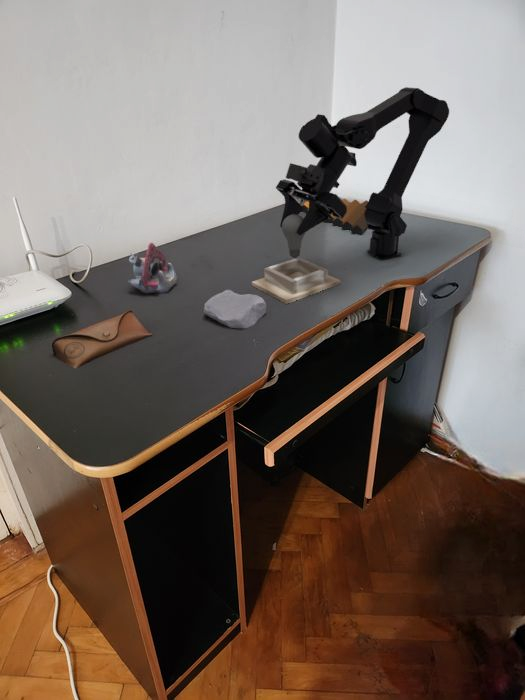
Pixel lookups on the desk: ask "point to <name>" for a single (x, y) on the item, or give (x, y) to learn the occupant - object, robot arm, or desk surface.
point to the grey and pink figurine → (152, 272)
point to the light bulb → (293, 233)
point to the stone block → (235, 309)
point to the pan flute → (348, 217)
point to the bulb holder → (294, 280)
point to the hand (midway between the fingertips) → (289, 231)
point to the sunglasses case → (99, 339)
